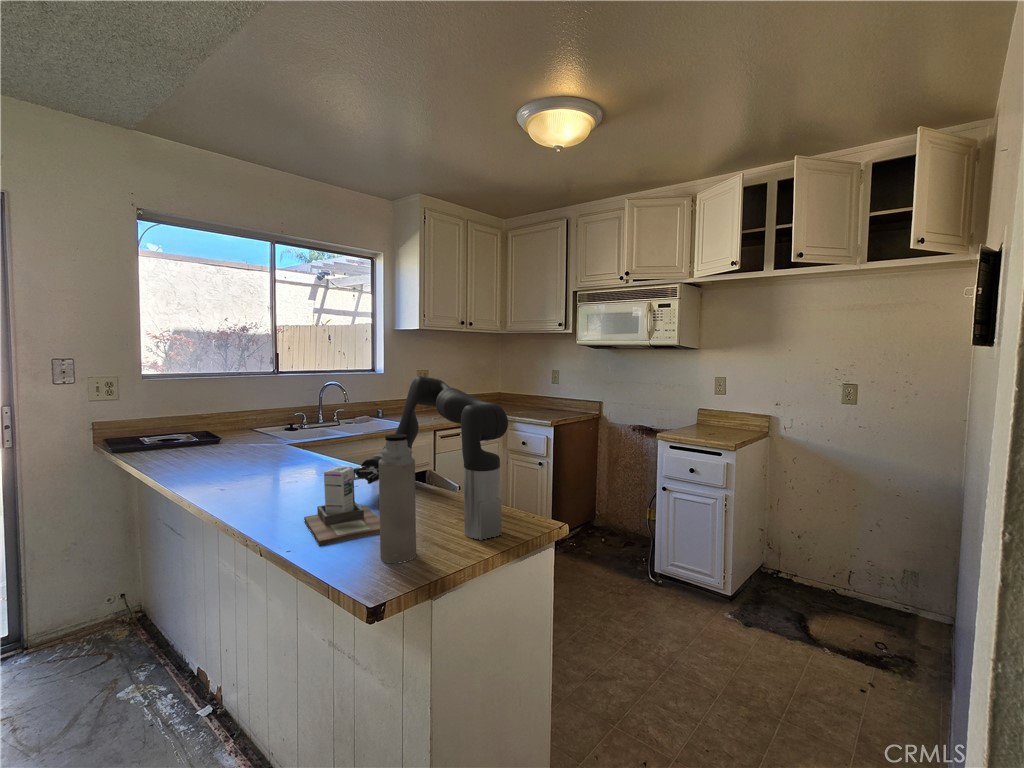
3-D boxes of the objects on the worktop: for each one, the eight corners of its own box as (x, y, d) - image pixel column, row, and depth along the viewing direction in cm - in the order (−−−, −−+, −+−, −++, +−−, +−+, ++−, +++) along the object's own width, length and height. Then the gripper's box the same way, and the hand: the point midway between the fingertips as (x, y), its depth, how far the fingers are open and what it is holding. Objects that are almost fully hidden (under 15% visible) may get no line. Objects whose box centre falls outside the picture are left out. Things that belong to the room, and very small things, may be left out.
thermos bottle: (384, 549, 116) (382, 432, 114) (418, 548, 116) (417, 431, 114) (376, 564, 108) (374, 438, 106) (413, 563, 108) (411, 438, 106)
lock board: (388, 531, 127) (388, 518, 127) (319, 545, 118) (319, 531, 118) (366, 510, 144) (365, 498, 144) (304, 521, 135) (303, 508, 135)
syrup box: (344, 525, 132) (343, 472, 131) (324, 523, 133) (323, 470, 132) (355, 518, 137) (354, 467, 136) (336, 516, 139) (335, 465, 138)
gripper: (356, 455, 160) (331, 466, 144) (397, 456, 158) (377, 468, 142) (356, 477, 161) (332, 491, 145) (398, 479, 159) (378, 493, 143)
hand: (354, 480), depth 144 cm, fingers open, 8 cm apart
